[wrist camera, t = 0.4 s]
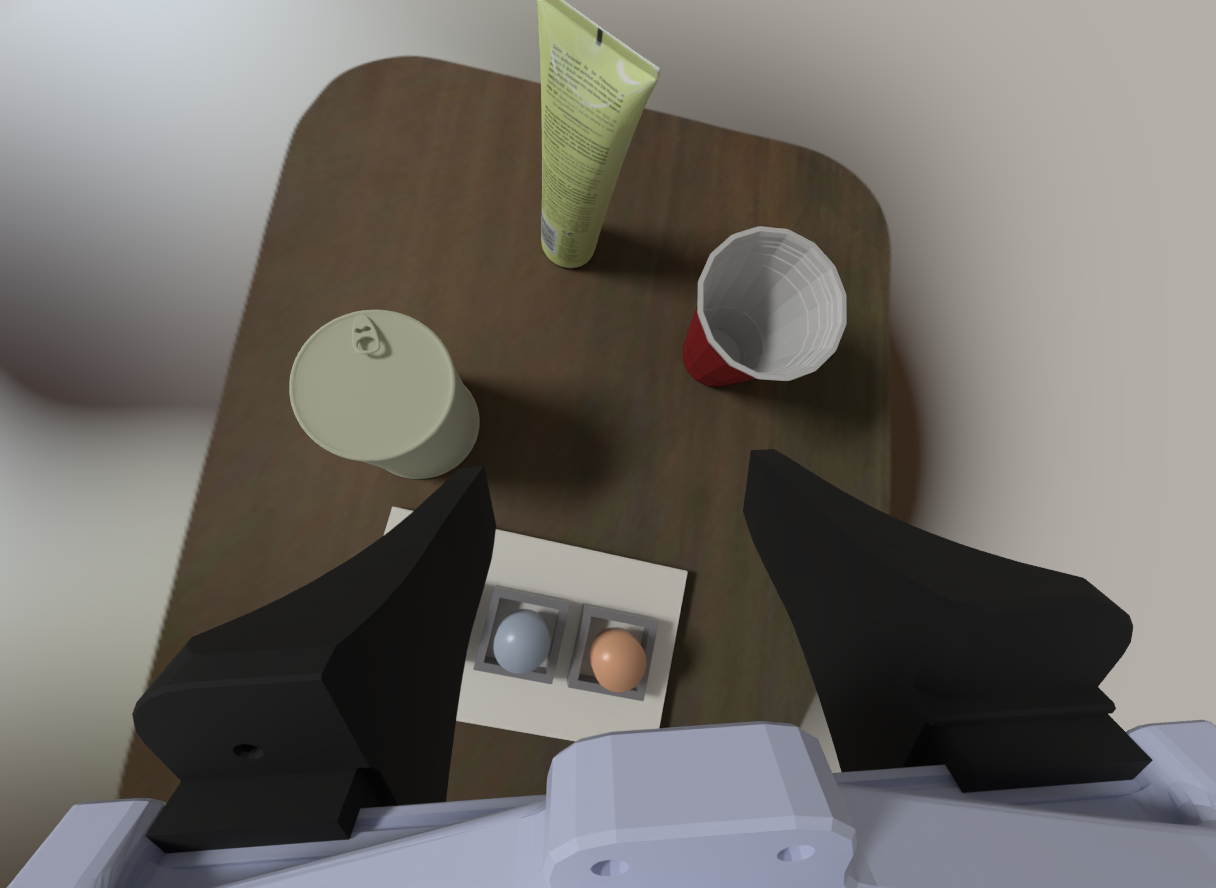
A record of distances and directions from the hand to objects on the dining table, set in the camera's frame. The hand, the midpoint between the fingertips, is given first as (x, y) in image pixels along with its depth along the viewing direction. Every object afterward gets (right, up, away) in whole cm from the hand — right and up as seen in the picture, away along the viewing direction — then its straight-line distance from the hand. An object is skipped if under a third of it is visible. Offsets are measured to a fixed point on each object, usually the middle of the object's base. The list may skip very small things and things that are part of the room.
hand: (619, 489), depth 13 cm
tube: (-4, +19, +30) cm, 36 cm away
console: (-7, -13, +24) cm, 29 cm away
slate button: (-7, -13, +22) cm, 26 cm away
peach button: (0, -15, +22) cm, 27 cm away
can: (-16, +3, +26) cm, 30 cm away
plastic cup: (+9, +9, +31) cm, 33 cm away
